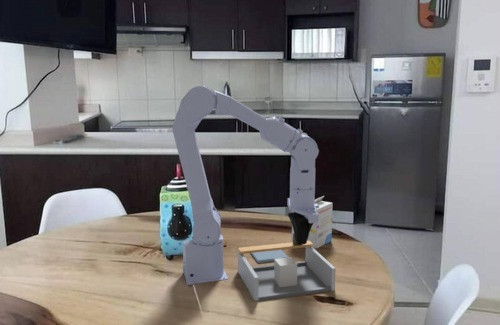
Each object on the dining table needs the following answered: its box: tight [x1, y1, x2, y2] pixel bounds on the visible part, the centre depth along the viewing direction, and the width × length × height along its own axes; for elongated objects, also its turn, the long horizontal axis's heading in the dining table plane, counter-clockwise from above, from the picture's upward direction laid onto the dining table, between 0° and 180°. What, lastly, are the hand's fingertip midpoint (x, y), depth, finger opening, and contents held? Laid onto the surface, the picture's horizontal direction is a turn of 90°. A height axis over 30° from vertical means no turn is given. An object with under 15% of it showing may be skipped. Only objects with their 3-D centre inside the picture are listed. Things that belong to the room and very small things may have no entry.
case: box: [237, 247, 337, 302], centre depth 100 cm, size 18×15×6 cm
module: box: [273, 256, 297, 287], centre depth 100 cm, size 4×4×5 cm
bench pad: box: [250, 250, 289, 264], centre depth 115 cm, size 8×8×1 cm
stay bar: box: [237, 233, 313, 255], centre depth 105 cm, size 18×2×3 cm, turn 105°
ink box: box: [291, 195, 334, 249], centre depth 125 cm, size 9×8×13 cm
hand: (301, 243), depth 104 cm, fingers closed
